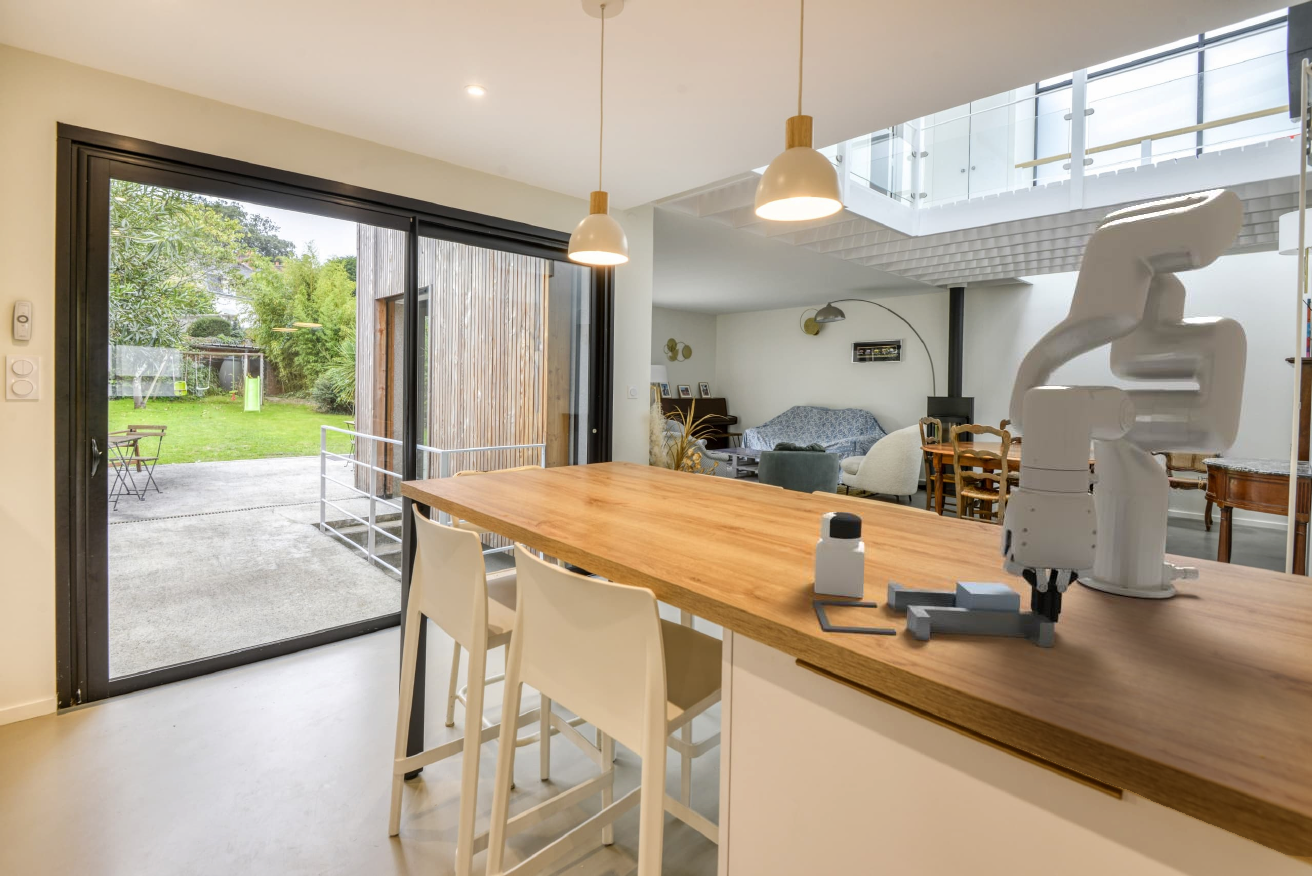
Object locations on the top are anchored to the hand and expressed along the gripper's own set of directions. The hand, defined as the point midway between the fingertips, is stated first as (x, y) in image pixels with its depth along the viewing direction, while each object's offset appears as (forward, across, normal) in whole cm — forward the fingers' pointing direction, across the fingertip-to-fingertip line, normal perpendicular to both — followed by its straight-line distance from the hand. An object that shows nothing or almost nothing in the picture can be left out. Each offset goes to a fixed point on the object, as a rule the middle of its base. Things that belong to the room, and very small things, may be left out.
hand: (1045, 618), depth 79 cm
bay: (+1, +24, 0) cm, 24 cm away
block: (+1, +7, 0) cm, 8 cm away
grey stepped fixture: (+1, +10, 0) cm, 10 cm away
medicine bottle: (+1, +24, -12) cm, 27 cm away
